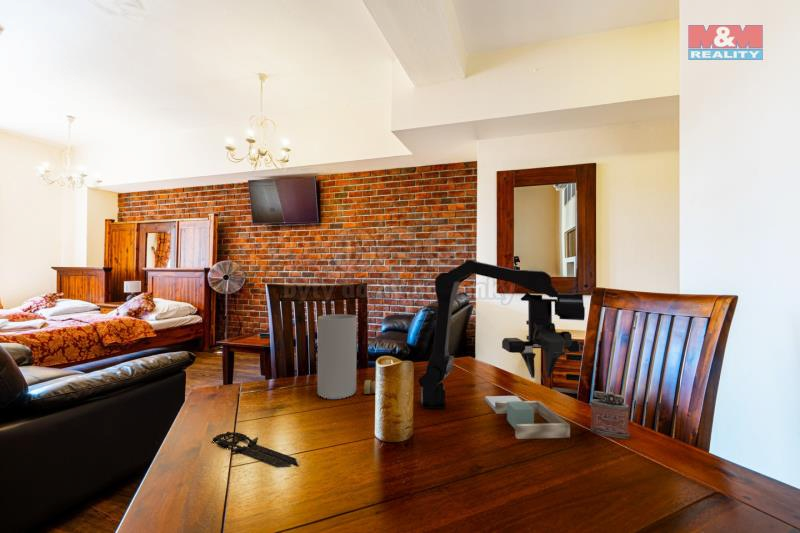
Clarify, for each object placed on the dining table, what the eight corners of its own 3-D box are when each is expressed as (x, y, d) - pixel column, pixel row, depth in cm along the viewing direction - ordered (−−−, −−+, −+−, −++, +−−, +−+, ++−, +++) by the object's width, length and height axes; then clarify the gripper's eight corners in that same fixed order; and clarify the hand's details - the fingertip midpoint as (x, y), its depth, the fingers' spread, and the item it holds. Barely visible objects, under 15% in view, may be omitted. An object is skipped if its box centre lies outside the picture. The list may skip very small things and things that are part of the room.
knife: (304, 465, 68) (304, 458, 68) (277, 481, 63) (277, 474, 63) (235, 433, 82) (235, 427, 82) (208, 443, 76) (208, 437, 76)
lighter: (627, 433, 81) (627, 392, 81) (630, 440, 78) (630, 397, 78) (590, 427, 84) (589, 388, 85) (591, 433, 81) (591, 392, 82)
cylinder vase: (337, 384, 117) (338, 313, 117) (364, 391, 110) (364, 316, 110) (309, 394, 107) (310, 317, 107) (336, 403, 99) (336, 320, 100)
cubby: (517, 438, 78) (517, 426, 78) (495, 412, 93) (495, 401, 93) (570, 437, 79) (569, 424, 79) (539, 411, 94) (539, 400, 94)
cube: (514, 429, 83) (514, 409, 84) (507, 420, 88) (507, 401, 89) (534, 428, 84) (533, 409, 84) (525, 420, 89) (525, 401, 89)
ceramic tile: (494, 410, 94) (494, 406, 94) (485, 400, 102) (485, 396, 102) (528, 410, 95) (528, 406, 95) (516, 399, 103) (516, 395, 103)
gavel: (371, 368, 127) (397, 368, 127) (371, 380, 127) (397, 380, 126) (364, 382, 106) (395, 382, 106) (363, 396, 106) (394, 397, 105)
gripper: (518, 322, 78) (518, 388, 78) (593, 322, 80) (594, 387, 79) (501, 316, 90) (501, 374, 89) (567, 316, 91) (568, 373, 90)
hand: (540, 377), depth 87 cm, fingers open, 4 cm apart
